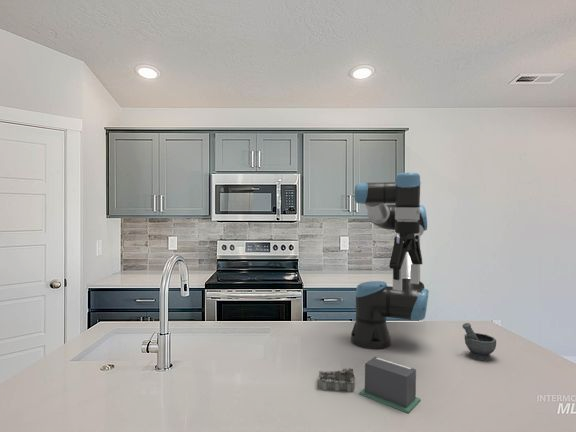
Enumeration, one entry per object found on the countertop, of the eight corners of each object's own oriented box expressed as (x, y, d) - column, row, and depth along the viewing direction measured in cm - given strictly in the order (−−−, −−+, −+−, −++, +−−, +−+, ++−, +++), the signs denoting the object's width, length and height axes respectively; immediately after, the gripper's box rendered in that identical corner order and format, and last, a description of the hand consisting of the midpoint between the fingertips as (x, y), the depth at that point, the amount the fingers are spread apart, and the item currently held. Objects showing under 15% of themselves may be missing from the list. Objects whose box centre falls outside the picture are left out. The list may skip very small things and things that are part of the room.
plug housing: (364, 391, 97) (364, 362, 97) (374, 383, 102) (375, 355, 102) (406, 408, 89) (406, 376, 89) (415, 398, 94) (416, 368, 94)
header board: (359, 393, 97) (359, 373, 97) (373, 383, 103) (373, 364, 103) (408, 413, 88) (408, 391, 88) (420, 400, 94) (420, 380, 94)
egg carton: (354, 381, 105) (355, 368, 105) (355, 394, 98) (355, 379, 98) (319, 378, 107) (319, 364, 107) (317, 390, 100) (317, 376, 100)
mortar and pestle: (485, 351, 129) (485, 318, 128) (502, 362, 119) (502, 327, 119) (455, 351, 128) (455, 319, 128) (470, 362, 119) (470, 327, 119)
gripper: (402, 221, 101) (401, 295, 101) (432, 220, 120) (431, 282, 120) (378, 221, 106) (377, 291, 106) (411, 220, 125) (410, 279, 125)
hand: (406, 286), depth 113 cm, fingers open, 13 cm apart
